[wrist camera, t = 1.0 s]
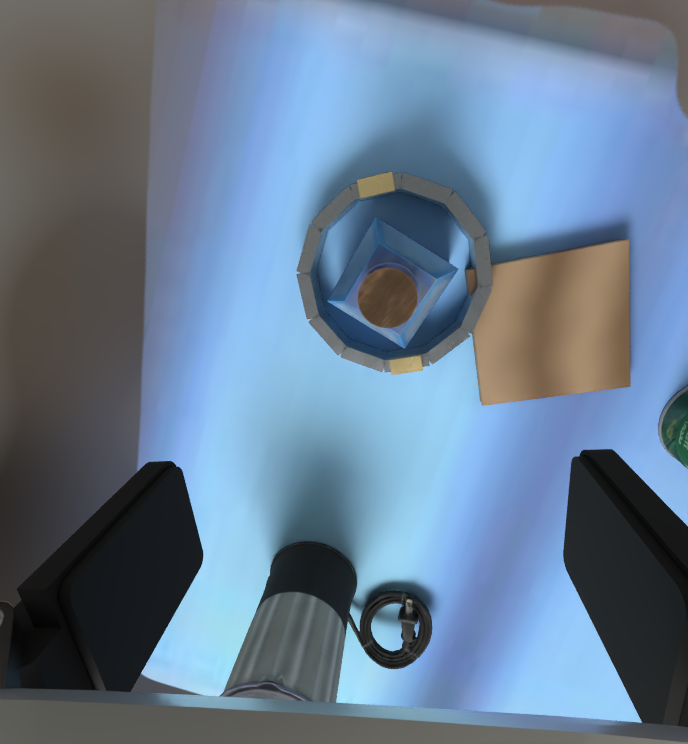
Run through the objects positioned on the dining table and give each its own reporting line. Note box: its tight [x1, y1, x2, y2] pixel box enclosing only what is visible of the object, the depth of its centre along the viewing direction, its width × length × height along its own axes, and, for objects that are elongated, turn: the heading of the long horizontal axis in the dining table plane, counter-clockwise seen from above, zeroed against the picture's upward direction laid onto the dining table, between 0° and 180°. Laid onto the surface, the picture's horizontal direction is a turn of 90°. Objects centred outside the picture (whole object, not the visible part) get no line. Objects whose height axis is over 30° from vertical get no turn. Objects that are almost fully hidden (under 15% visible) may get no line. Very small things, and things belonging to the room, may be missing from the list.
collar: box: [297, 171, 493, 375], centre depth 32 cm, size 14×14×3 cm
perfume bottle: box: [328, 217, 458, 349], centre depth 28 cm, size 6×6×12 cm
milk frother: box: [220, 542, 432, 703], centre depth 37 cm, size 14×16×15 cm
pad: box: [465, 239, 630, 406], centre depth 32 cm, size 11×11×1 cm
